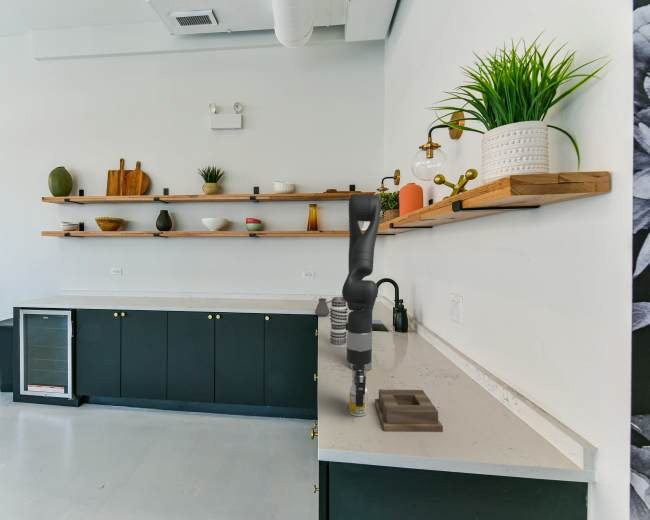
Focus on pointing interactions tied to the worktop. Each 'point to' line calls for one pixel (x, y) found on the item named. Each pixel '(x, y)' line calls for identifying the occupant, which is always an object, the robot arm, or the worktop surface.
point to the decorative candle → (338, 322)
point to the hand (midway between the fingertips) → (358, 400)
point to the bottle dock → (407, 411)
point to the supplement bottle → (352, 407)
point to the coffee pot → (322, 308)
